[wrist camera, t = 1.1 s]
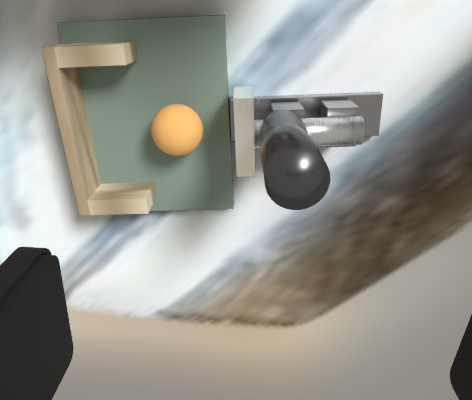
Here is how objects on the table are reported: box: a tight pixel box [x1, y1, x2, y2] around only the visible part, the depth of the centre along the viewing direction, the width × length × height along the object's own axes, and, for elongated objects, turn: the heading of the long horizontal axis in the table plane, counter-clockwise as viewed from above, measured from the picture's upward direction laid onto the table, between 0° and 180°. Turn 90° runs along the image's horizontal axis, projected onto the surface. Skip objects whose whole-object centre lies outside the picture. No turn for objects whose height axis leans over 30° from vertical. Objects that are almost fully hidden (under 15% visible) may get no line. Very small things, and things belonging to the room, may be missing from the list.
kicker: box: [233, 86, 365, 210], centre depth 24 cm, size 8×5×11 cm, turn 92°
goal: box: [41, 41, 156, 216], centre depth 28 cm, size 5×11×3 cm, turn 2°
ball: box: [151, 104, 203, 156], centre depth 28 cm, size 4×4×4 cm
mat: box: [57, 15, 234, 211], centre depth 30 cm, size 11×14×1 cm
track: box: [230, 92, 383, 141], centre depth 30 cm, size 11×3×1 cm, turn 92°
